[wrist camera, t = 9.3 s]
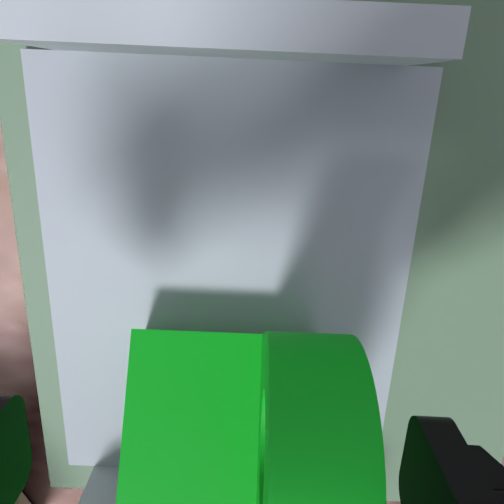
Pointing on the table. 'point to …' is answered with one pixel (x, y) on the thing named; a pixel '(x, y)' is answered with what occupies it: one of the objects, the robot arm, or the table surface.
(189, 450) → the mechanical part
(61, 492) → the table surface
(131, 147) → the pale green fixture
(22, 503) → the skincare box
